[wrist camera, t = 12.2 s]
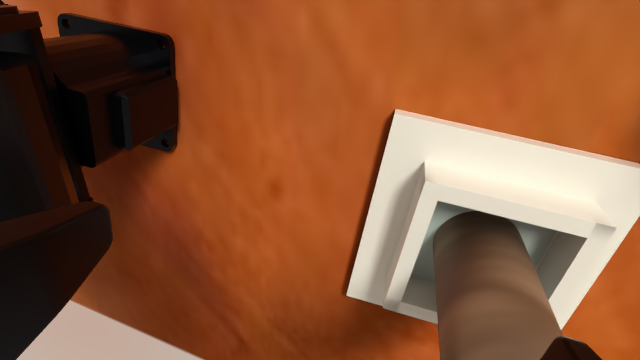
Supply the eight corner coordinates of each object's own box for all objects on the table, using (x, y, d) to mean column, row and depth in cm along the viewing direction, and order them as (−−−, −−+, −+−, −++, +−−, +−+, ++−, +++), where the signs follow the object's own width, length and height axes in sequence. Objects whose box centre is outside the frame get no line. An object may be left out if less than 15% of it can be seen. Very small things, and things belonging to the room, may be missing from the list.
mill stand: (348, 286, 24) (340, 322, 22) (395, 108, 19) (391, 128, 16) (541, 342, 23) (557, 387, 20) (657, 167, 17) (700, 199, 15)
